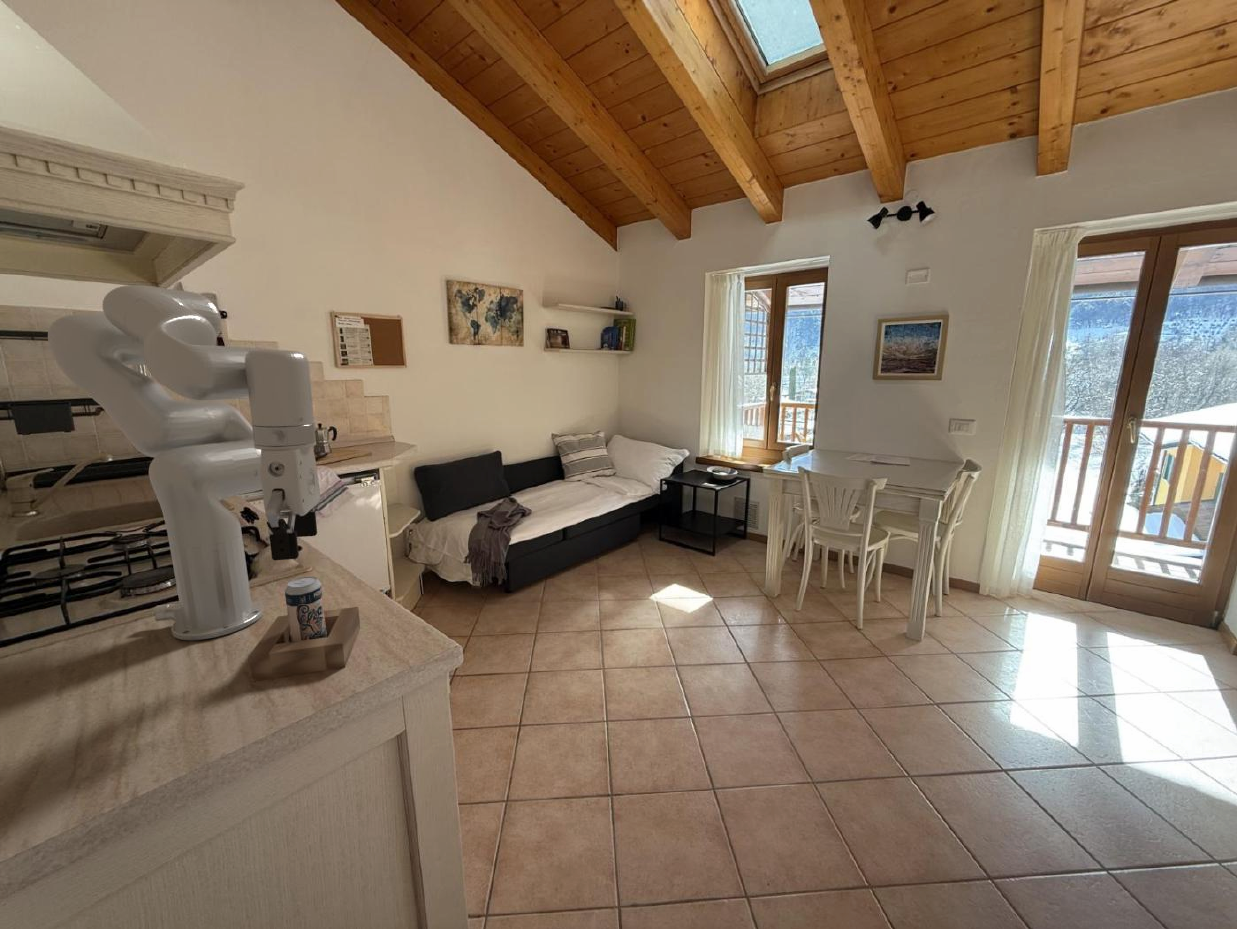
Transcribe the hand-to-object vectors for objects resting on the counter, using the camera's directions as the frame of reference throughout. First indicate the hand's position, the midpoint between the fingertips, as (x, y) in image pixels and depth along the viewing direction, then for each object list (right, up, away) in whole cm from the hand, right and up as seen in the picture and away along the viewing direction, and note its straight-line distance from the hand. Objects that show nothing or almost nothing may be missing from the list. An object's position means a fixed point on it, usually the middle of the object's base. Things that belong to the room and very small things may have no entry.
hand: (296, 546), depth 75 cm
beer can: (0, -18, +3) cm, 18 cm away
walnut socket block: (0, -17, +3) cm, 18 cm away
